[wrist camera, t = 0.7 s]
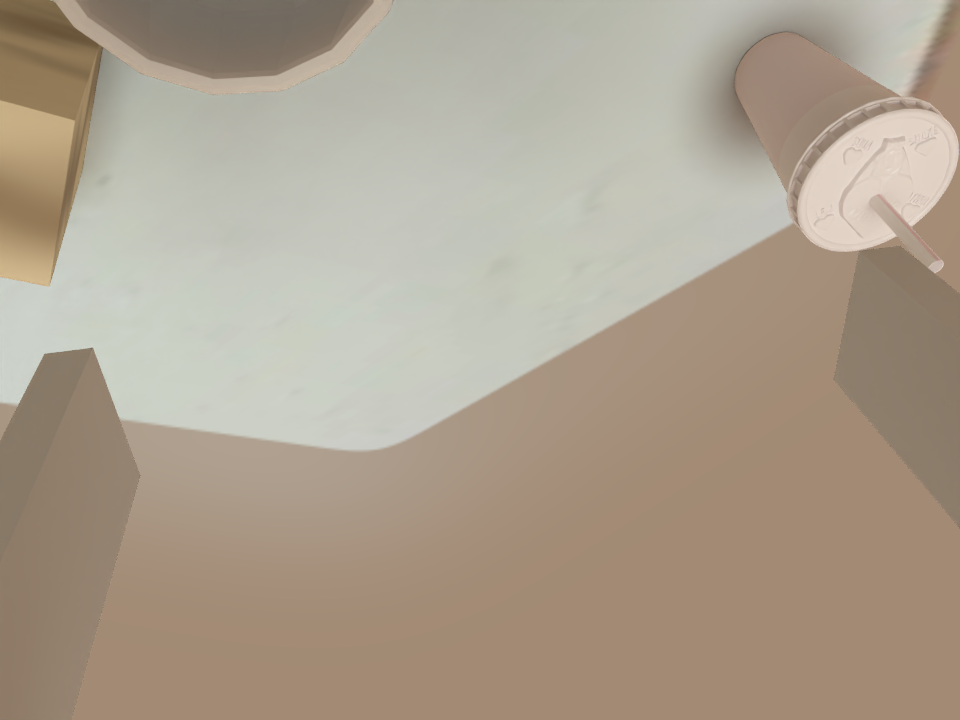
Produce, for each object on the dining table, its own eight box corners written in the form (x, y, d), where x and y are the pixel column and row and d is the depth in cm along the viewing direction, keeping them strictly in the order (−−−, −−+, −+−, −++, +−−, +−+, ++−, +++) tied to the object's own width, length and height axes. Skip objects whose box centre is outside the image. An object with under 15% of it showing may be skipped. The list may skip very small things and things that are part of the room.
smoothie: (696, 142, 42) (830, 335, 32) (717, 9, 37) (880, 186, 27) (822, 126, 42) (991, 311, 33) (857, -6, 38) (1067, 161, 28)
